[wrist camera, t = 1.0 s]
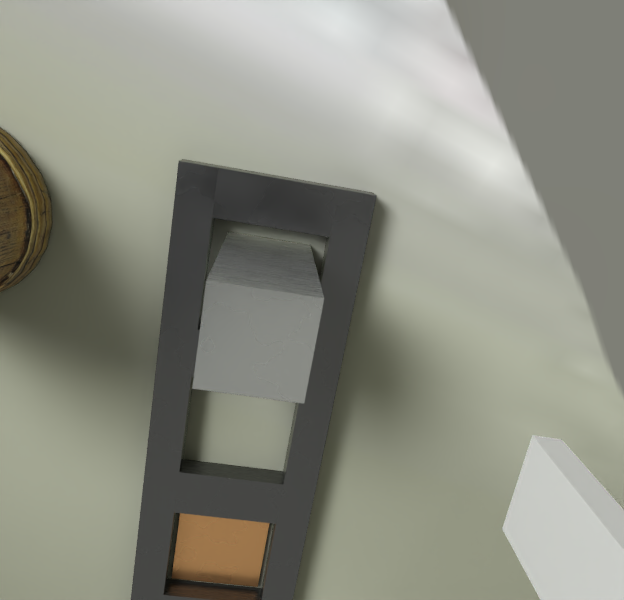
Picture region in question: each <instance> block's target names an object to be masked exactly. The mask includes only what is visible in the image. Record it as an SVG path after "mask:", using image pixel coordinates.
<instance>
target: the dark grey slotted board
mask: <svg viewBox="0 0 624 600" xmlns="http://www.w3.org/2000/svg"><path fill="white" fill-rule="evenodd" d="M375 201H376V195H375V194H374V193H372V192H366V191H361V190H355V189H349V188H344V187H338V186H332V185H327V184H321V183H315V182H309V181H304V180H298V179H292V178H287V177H281V176H275V175H270V174H264V173H258V172H253V171H247V170H241V169H236V168H230V167H224V166H218V165H213V164H207V163H201V162H196V161H190V160H184V159H182V160H180V161H179V164H178V173H177V182H176V191H175V200H174V210H173V219H172V228H171V237H170V246H169V255H168V264H167V274H166V283H165V292H164V301H163V310H162V319H161V329H160V338H159V347H158V356H157V365H156V374H155V383H154V393H153V402H152V411H151V420H150V429H149V438H148V447H147V457H146V466H145V475H144V484H143V493H142V502H141V512H140V521H139V530H138V539H137V548H136V557H135V566H134V576H133V585H132V594H131V600H293V596H294V591H295V586H296V581H297V576H298V571H299V567H300V562H301V557H302V552H303V547H304V543H305V538H306V533H307V528H308V523H309V519H310V514H311V509H312V504H313V499H314V494H315V490H316V485H317V480H318V475H319V470H320V466H321V461H322V456H323V451H324V446H325V442H326V437H327V432H328V427H329V422H330V417H331V413H332V408H333V403H334V398H335V393H336V389H337V384H338V379H339V374H340V369H341V365H342V360H343V355H344V350H345V345H346V340H347V336H348V331H349V326H350V321H351V316H352V312H353V307H354V302H355V297H356V292H357V288H358V283H359V278H360V273H361V268H362V263H363V259H364V254H365V249H366V244H367V239H368V235H369V230H370V225H371V220H372V215H373V211H374V206H375ZM214 218H217V219H223V220H229V221H235V222H241V223H247V224H254V225H260V226H266V227H272V228H278V229H284V230H290V231H296V232H302V233H308V234H314V235H320V236H326V237H327V241H326V246H325V251H324V257H323V262H322V267H321V273H320V278H319V280H320V284H321V288H322V292H323V295H324V303H323V308H322V313H321V318H320V323H319V329H318V334H317V339H316V344H315V350H314V355H313V360H312V365H311V370H310V376H309V381H308V386H307V391H306V396H305V402H304V404H303V403H296V406H295V411H294V417H293V422H292V427H291V433H290V438H289V443H288V449H287V454H286V459H285V465H284V470H283V472H282V471H274V470H266V469H258V468H249V467H241V466H233V465H225V464H217V463H208V462H200V461H192V460H184V459H183V454H184V447H185V439H186V431H187V424H188V416H189V408H190V400H191V393H192V385H193V377H194V371H195V364H196V356H197V348H198V340H199V333H200V325H201V316H202V308H203V300H204V293H205V285H206V277H207V270H208V262H209V254H210V246H211V239H212V231H213V223H214ZM176 513H180V518H179V526H178V533H177V541H176V548H175V556H174V564H173V571H172V578H173V579H167V578H168V570H169V562H170V555H171V547H172V539H173V531H174V524H175V516H176ZM269 523H272V524H273V529H272V534H271V539H270V545H269V550H268V555H267V561H266V566H265V571H264V577H263V582H262V587H261V588H254V587H258V582H259V577H260V572H261V566H262V561H263V555H264V550H265V545H266V539H267V534H268V528H269ZM174 579H183V580H174ZM184 580H193V581H184ZM194 581H203V582H194ZM204 582H213V583H204ZM214 583H223V584H214ZM224 584H233V585H224ZM234 585H243V586H234ZM244 586H253V587H244Z"/></svg>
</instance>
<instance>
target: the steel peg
mask: <svg viewBox="0 0 624 600" xmlns="http://www.w3.org/2000/svg"><path fill="white" fill-rule="evenodd" d="M323 303H324V295H323V292H322V288H321V284H320V280H319V277H318V273H317V269H316V265H315V261H314V258H313V254H312V250H311V246H310V245H308V244H302V243H296V242H290V241H283V240H277V239H271V238H265V237H259V236H253V235H247V234H241V233H235V232H229V231H228V234H227V236H226V238H225V240H224V242H223V245H222V247H221V249H220V251H219V253H218V256H217V258H216V260H215V262H214V264H213V267H212V269H211V271H210V273H209V275H208V278H207V280H206V287H205V294H204V302H203V310H202V317H201V325H200V333H199V340H198V348H197V356H196V364H195V371H194V379H193V387H192V389H199V390H206V391H214V392H221V393H229V394H236V395H244V396H251V397H258V398H266V399H273V400H281V401H288V402H296V403H303V404H304V402H305V396H306V391H307V386H308V381H309V376H310V370H311V365H312V360H313V355H314V350H315V344H316V339H317V334H318V329H319V323H320V318H321V313H322V308H323Z"/></svg>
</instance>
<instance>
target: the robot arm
mask: <svg viewBox="0 0 624 600" xmlns="http://www.w3.org/2000/svg"><path fill="white" fill-rule="evenodd" d="M502 529H503V531H504V533H505V535H506V537H507V539H508V541H509V542H510V544H511V546H512V548H513V550H514V552H515V554H516V555H517V557H518V559H519V561H520V563H521V565H522V567H523V568H524V570H525V572H526V574H527V576H528V578H529V580H530V582H531V583H532V585H533V587H534V589H535V591H536V593H537V595H538V596H539V598H540V600H624V510H623V508H622V507H621V506H620V505H619V504H618V503H617V502H616V500H615V499H614V498H613V497H612V496H611V495H610V494H609V492H608V491H607V490H606V489H605V488H604V487H603V486H602V484H601V483H600V482H599V481H598V480H597V479H596V478H595V477H594V475H593V474H592V473H591V472H590V471H589V470H588V469H587V467H586V466H585V465H584V464H583V463H582V462H581V461H580V459H579V458H578V457H577V456H576V455H575V454H574V453H573V452H572V450H571V449H570V448H569V447H568V446H567V445H566V444H565V442H564V441H563V440H562V439H556V438H548V437H541V436H534V435H532V438H531V441H530V444H529V447H528V450H527V453H526V457H525V460H524V463H523V466H522V469H521V472H520V475H519V478H518V481H517V485H516V488H515V491H514V494H513V497H512V500H511V503H510V506H509V509H508V513H507V516H506V519H505V522H504V525H503V528H502Z"/></svg>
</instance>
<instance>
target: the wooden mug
mask: <svg viewBox="0 0 624 600" xmlns="http://www.w3.org/2000/svg"><path fill="white" fill-rule="evenodd" d="M51 226H52V212H51V198H50V196H49V193H48V191H47V188H46V185H45V183H44V180H43V178H42V175H41V174H40V172H39V171H38V169H37V168H36V166H35V165H34V163H33V162H32V160H31V159H30V157H29V156H28V154H27V153H26V151H25V150H24V149H23V148H22V147H21V146H20V145H19V144H18V143H17V142H16V141H15V140H14V139H13V138H12V137H11V136H10V135H9V134H8V133H7V132H5V131H4V130H2V129H1V128H0V292H2V291H4V290H6V289H8V288H10V287H12V286H14V285H16V284H18V283H19V282H20V281H21V280H22V279H23V278H24V277H26V276H27V275H28V274H29V273H30V272H31V271H32V270H33V269H34V268H35V267H36V265H37V263H38V262H39V260H40V258H41V257H42V255H43V253H44V252H45V250H46V248H47V244H48V240H49V235H50V231H51Z"/></svg>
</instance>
